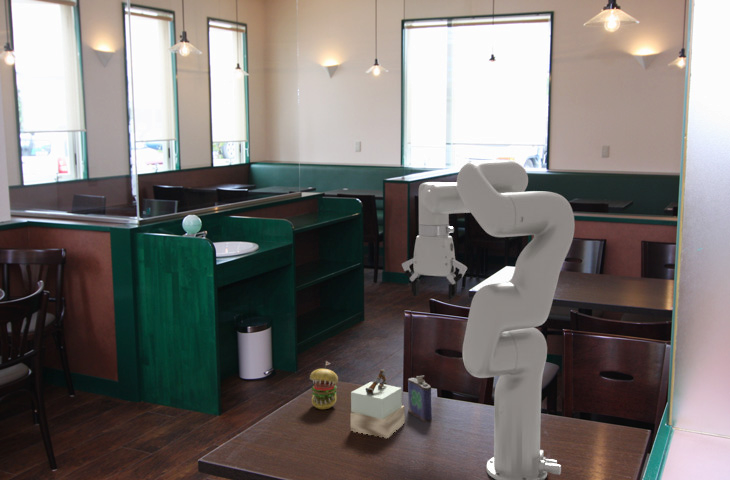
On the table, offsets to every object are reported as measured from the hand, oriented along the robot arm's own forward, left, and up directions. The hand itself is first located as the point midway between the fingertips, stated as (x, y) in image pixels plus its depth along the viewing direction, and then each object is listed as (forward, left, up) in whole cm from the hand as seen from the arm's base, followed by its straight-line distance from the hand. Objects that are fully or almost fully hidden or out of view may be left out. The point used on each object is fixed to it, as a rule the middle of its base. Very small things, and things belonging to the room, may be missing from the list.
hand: (433, 297), depth 179 cm
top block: (+9, +16, -26) cm, 32 cm away
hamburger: (+28, +9, -31) cm, 42 cm away
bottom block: (+9, +16, -31) cm, 36 cm away
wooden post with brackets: (+9, +17, -21) cm, 28 cm away
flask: (+2, +5, -31) cm, 31 cm away
